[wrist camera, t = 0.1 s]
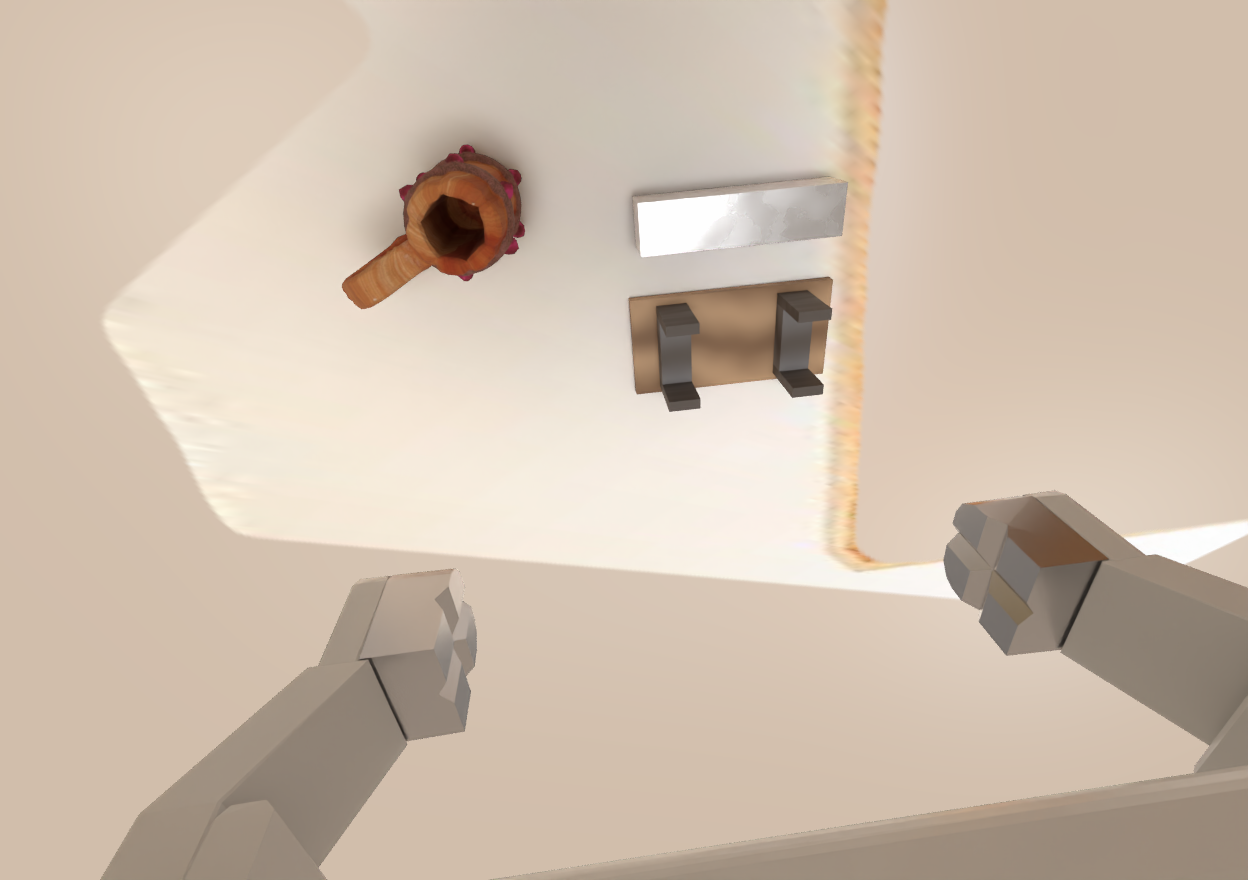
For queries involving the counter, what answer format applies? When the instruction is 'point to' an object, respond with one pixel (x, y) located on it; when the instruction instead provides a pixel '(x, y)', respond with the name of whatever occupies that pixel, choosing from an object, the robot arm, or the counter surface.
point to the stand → (731, 339)
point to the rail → (739, 216)
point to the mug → (447, 226)
